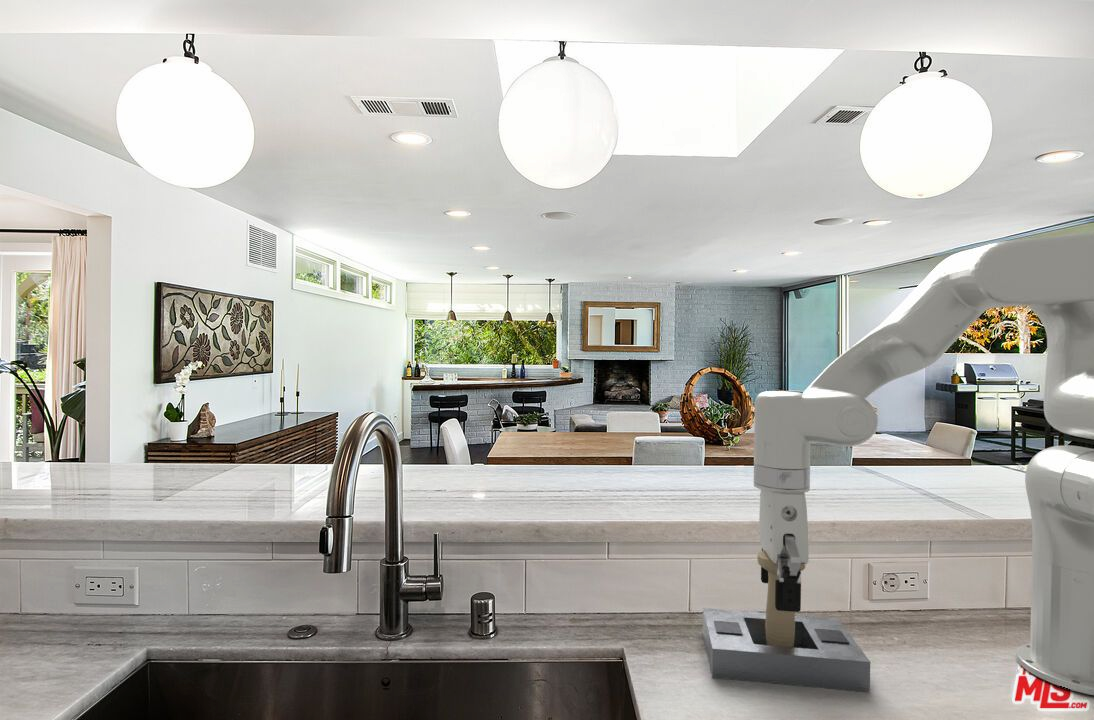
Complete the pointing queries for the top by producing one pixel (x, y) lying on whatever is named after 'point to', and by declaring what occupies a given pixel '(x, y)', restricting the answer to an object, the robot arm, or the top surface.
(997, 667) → the top surface
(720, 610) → the block
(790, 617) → the handle
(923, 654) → the top surface
